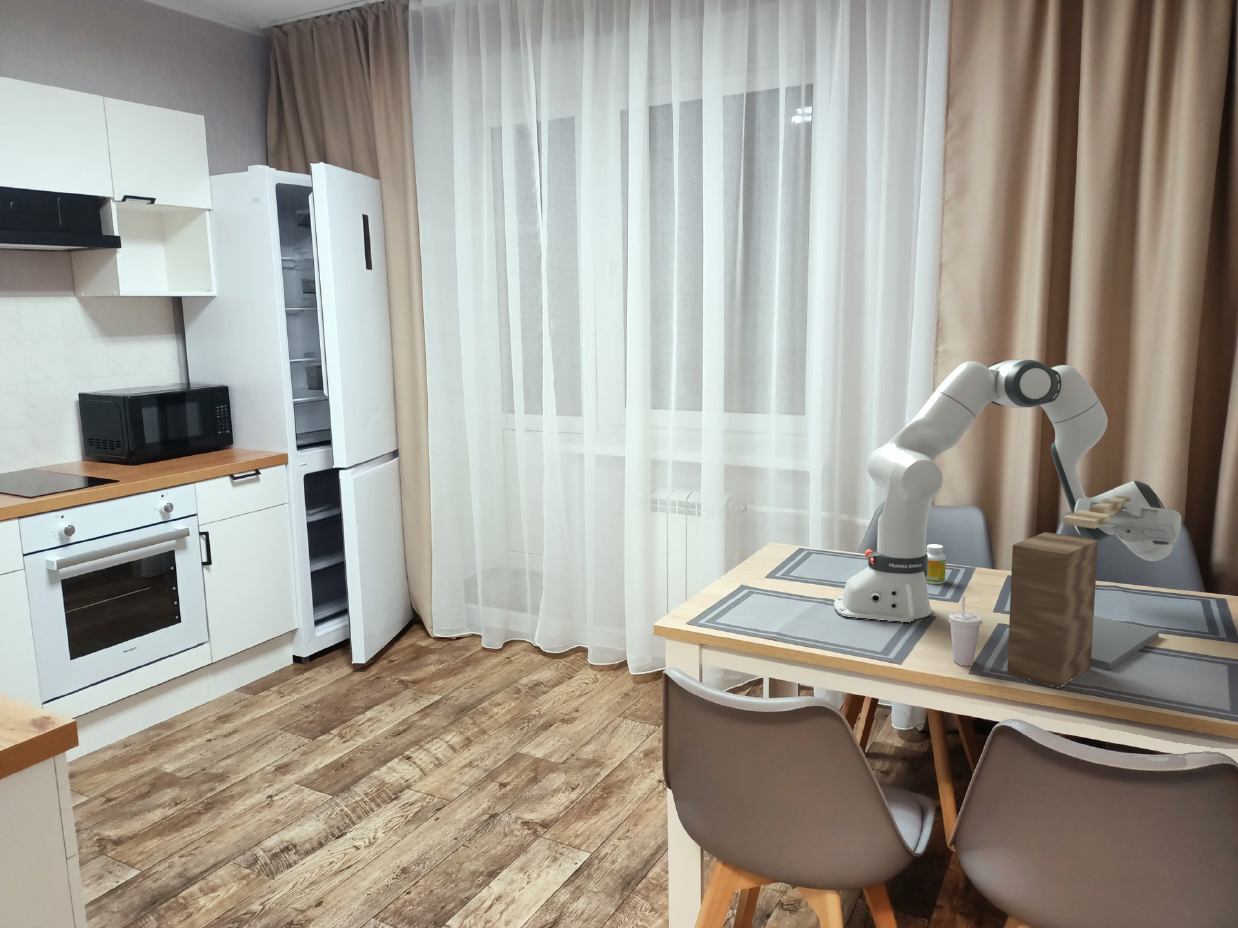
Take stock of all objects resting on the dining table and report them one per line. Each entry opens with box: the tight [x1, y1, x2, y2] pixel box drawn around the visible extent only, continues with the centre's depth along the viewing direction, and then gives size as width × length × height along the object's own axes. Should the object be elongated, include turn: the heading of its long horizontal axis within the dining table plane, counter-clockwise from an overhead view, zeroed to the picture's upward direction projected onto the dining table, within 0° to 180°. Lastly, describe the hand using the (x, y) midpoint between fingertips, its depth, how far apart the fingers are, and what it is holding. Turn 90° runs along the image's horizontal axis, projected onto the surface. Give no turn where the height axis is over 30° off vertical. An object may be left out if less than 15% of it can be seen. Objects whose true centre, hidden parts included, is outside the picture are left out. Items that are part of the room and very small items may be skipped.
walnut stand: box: [1006, 531, 1099, 689], centre depth 173 cm, size 14×10×26 cm
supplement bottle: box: [926, 543, 947, 585], centre depth 234 cm, size 5×5×10 cm
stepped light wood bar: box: [1062, 496, 1131, 529], centre depth 185 cm, size 23×6×2 cm, turn 131°
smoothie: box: [948, 595, 983, 666], centre depth 180 cm, size 6×6×14 cm
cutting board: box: [1091, 615, 1160, 671], centre depth 189 cm, size 26×16×2 cm, turn 131°
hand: (1115, 503), depth 189 cm, fingers closed on stepped light wood bar, 2 cm apart
